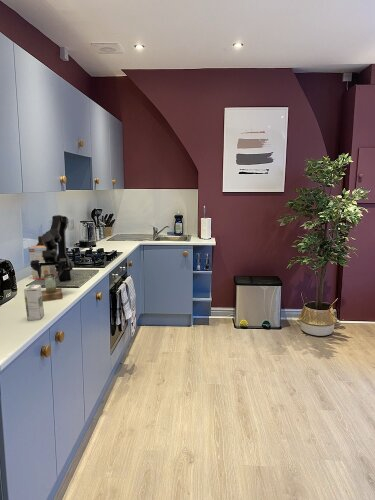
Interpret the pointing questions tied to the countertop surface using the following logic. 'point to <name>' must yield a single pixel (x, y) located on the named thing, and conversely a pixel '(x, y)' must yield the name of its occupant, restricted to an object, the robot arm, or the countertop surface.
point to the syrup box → (34, 302)
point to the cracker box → (37, 255)
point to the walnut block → (52, 295)
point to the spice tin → (50, 283)
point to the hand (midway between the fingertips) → (49, 277)
